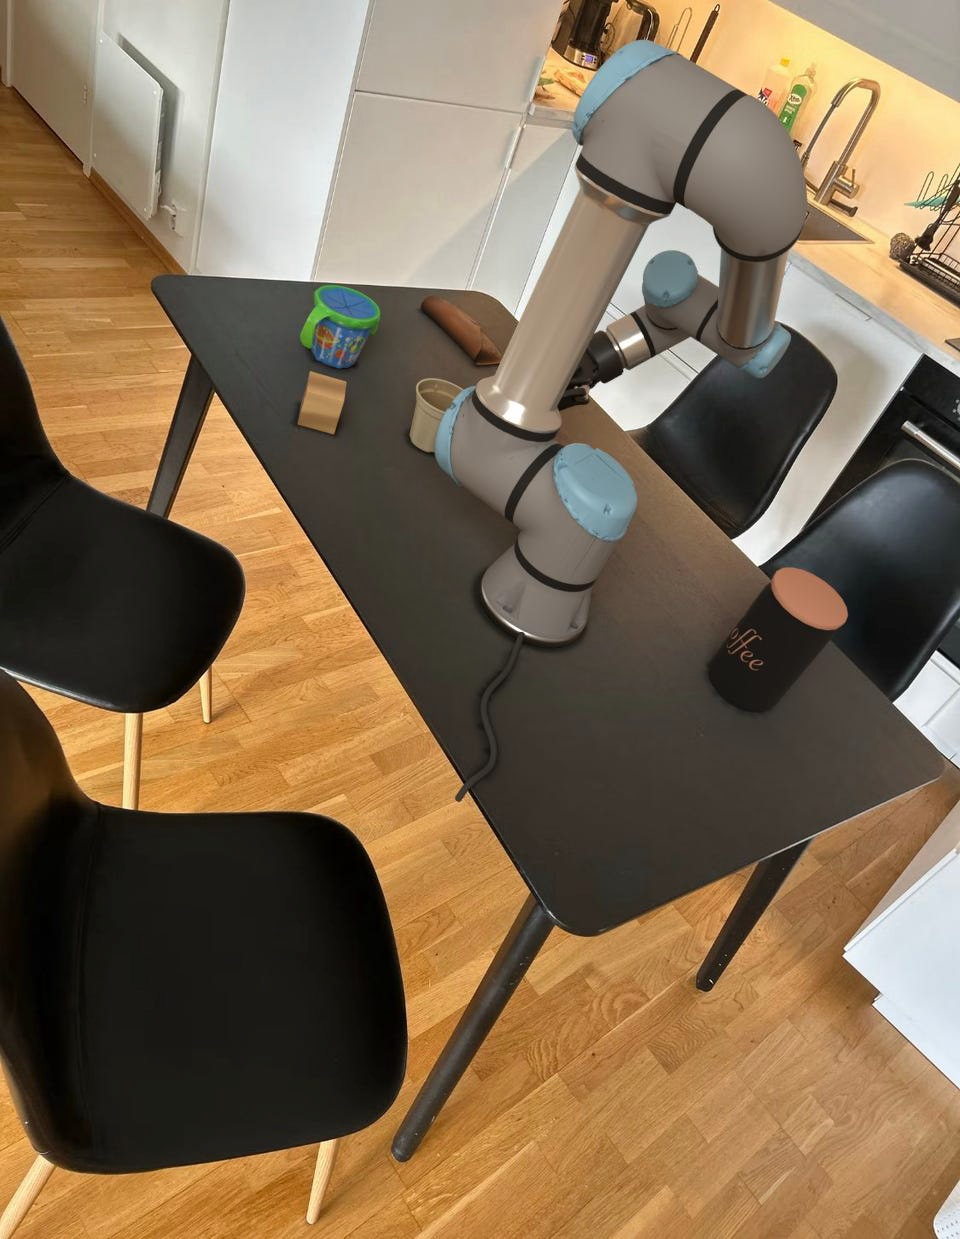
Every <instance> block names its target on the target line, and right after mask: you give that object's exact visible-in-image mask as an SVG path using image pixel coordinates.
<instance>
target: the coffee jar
mask: <svg viewBox="0 0 960 1239" xmlns="http://www.w3.org/2000/svg"><path fill="white" fill-rule="evenodd" d="M848 616H849V613H848V607H847V605H846V604H845V602H844V599H843V598H842V597H841V596H840V594H839V593H838V592H837V591H836V590H835V589H834V588H833V587H832V586H831V585H830V584H828V583H827V582H826V581H825V580H823V579H822V578H820V577H819V576H816V575H815V574H813V573H811V572H809V571H807V570H805V569H802V568H801V569H800V568H797V567H793V566H792V567H790V566H789V567H782V568H779V569H778V570H776V571H775V573H774V575H773V576H772V578H771V580H770V582H769V583H767V584H765V585H764V587H763V589H761V591H760V592H759V594H758V595H757V596H756V598H755V599H754V601H752V603H751V604H750V606H749V607H748V609H747V610H746V611H745V613H744V614H743V616H742V617H741V618H740V619H739V620H738V622H737V623H736V624H735V626H734V628H733V629H732V630H731V632H730V633H729V634H728V636H727V637H726V639H724V641H723V642H722V643H721V645H720V646H719V648H717V650H716V651H715V653H714V654H713V656H712V657H711V659H710V661H709V664H708V665H709V668H708V674H709V680H710V683H711V685H712V687H713V688H714V689H715V691H716V693H717V694H718V695H719V696H720V697H721V698H722V699H723V700H724V701H726V702H727V703H729V704H730V705H732V706H733V707H735V708H737V709H739V710H741V711H744V712H750V713H759V712H765V711H769V710H770V709H771V710H772V708H773V707H775V706H777V704H778V703H779V702H780V701H781V699H782V698H783V697H784V696H785V695H786V693H787V692H788V691H789V690H790V689H791V688H792V686H793V685H794V684H795V683H796V682H797V680H798V679H799V678H800V677H801V676H802V675H803V673H804V672H805V671H806V670H807V668H808V667H809V666H810V665H811V664H812V663H813V662H814V660H815V659H816V658H817V657H818V656H819V654H820V653H821V652H822V651H823V650H824V648H825V647H826V646H827V645H828V644H829V643H830V641H831V640H832V639H833V638H834V637H835V634H836V632H837V629H840V628H841V627H842V626H843V625H844V624H846V622H847V619H848Z"/></svg>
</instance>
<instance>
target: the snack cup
mask: <svg viewBox="0 0 960 1239" xmlns="http://www.w3.org/2000/svg"><path fill="white" fill-rule="evenodd" d="M313 297H314V299H313V301H314V308H313V309H312V311H310V313H309V315H308V317H307V318H306V321H305V322H304V325H303V327H302V330H301V332H300V334H299V339H300V342H301V343H302V345H303V346H304V347H305V348H307V349H311V354H313V356H314V357H315V360H316V361H318V362H321V363H323V364H324V365H326V366H329V367H332V368H335V369H338V370H341V369H348V368H350V367H352V366H354V365H355V364H356V362H357V361H358V359H359V357H360V355H361V352H362V350H363V349H364V347H365V344H366V342H367V340H368V338H369V336H375V335H376V333H377V331H378V328H379V322H380V320H381V309H380V306H378V304H377V303H376V302H375V301H374V300H373V299H372V298H370V297H369V296H367V295H366V294H364V293H362V292H360V291H358V290H356V289H353V288H351V287H347V286H343V285H338V284H337V285H336V284H326V285H322V286H320V287H318V288H317V289H316V290H315V291H314V293H313Z"/></svg>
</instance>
